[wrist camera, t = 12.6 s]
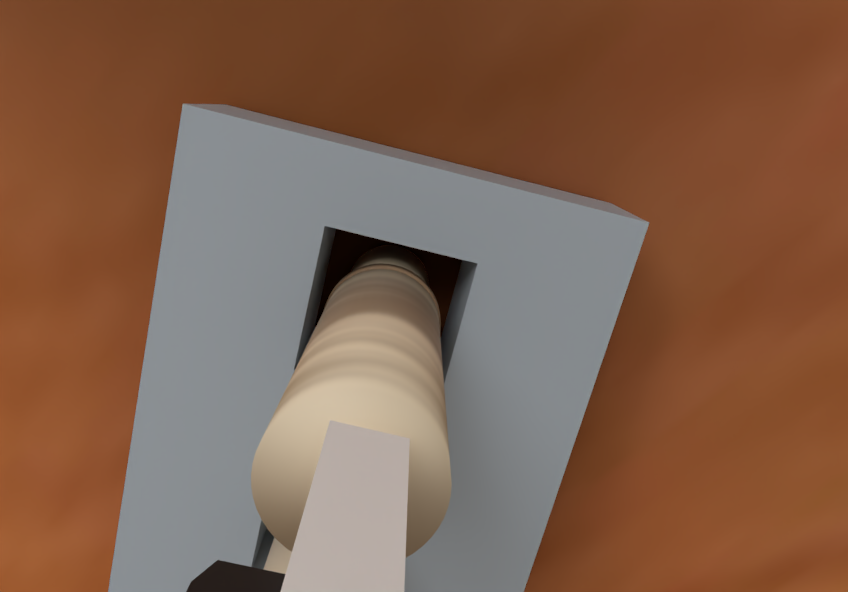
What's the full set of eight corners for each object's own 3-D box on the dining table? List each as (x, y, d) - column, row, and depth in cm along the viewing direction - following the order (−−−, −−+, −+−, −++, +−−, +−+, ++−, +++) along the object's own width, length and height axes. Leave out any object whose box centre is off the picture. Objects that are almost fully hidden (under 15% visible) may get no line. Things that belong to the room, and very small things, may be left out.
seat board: (225, 104, 27) (-34, 99, 12) (610, 203, 28) (837, 318, 13) (153, 532, 32) (-94, 923, 17) (481, 602, 33) (532, 1029, 18)
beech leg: (352, 226, 28) (269, 368, 13) (448, 250, 29) (478, 416, 13) (331, 318, 30) (231, 549, 14) (424, 340, 30) (425, 591, 14)
